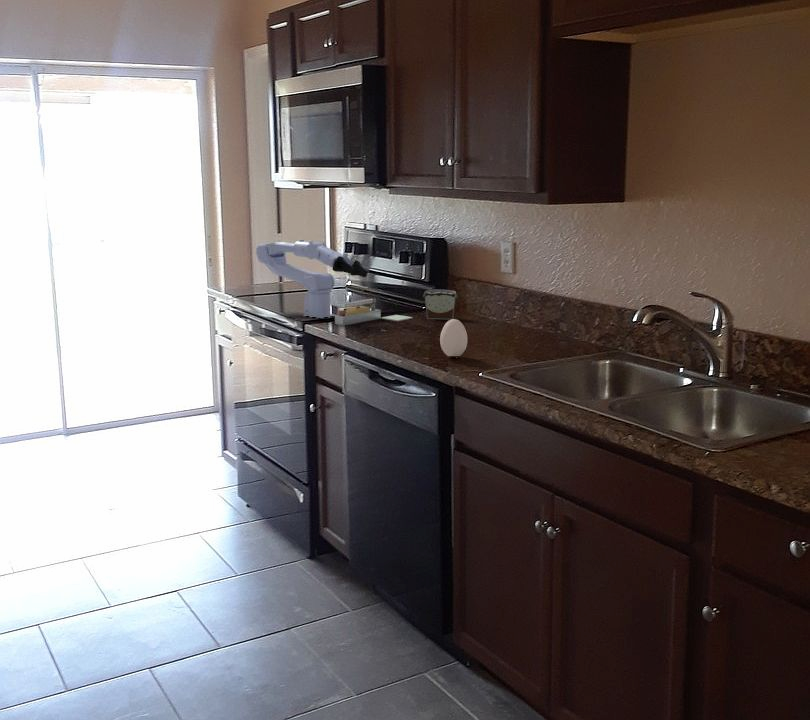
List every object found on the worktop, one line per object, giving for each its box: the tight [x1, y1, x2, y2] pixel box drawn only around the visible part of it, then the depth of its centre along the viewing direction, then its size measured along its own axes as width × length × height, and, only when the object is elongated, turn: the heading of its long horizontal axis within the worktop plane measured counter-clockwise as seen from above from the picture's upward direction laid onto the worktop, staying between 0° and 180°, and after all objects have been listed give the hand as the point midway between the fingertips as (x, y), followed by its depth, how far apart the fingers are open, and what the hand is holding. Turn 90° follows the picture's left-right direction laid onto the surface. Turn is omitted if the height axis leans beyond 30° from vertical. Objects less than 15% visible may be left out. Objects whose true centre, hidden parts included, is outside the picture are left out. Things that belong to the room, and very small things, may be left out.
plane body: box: [334, 303, 382, 327], centre depth 323 cm, size 4×19×6 cm, turn 138°
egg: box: [439, 318, 468, 357], centre depth 264 cm, size 8×8×11 cm
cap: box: [345, 305, 371, 314], centre depth 322 cm, size 5×7×2 cm
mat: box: [381, 314, 413, 322], centre depth 329 cm, size 8×8×1 cm
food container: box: [422, 289, 458, 320], centre depth 330 cm, size 12×6×10 cm, turn 84°
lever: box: [340, 298, 377, 309], centre depth 322 cm, size 2×16×1 cm, turn 138°
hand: (359, 272), depth 316 cm, fingers open, 7 cm apart
